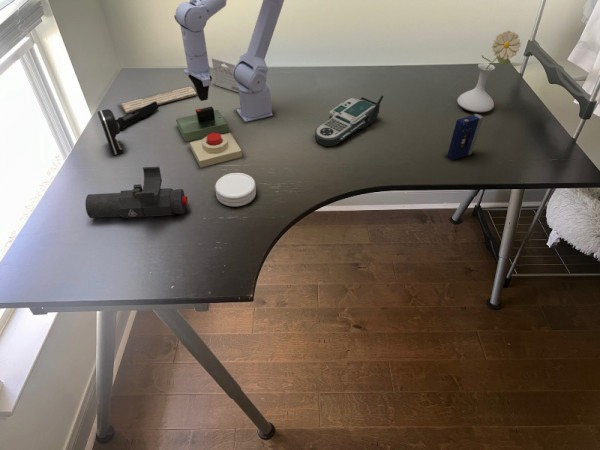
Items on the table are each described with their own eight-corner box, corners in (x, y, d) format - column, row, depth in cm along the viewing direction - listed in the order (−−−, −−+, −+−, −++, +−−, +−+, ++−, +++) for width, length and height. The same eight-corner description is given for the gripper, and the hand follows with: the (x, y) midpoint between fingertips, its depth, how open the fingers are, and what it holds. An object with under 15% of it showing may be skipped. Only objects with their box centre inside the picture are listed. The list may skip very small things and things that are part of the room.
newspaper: (127, 114, 141) (125, 109, 140) (120, 105, 146) (119, 100, 144) (196, 96, 150) (196, 91, 149) (189, 88, 155) (188, 83, 153)
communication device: (302, 137, 132) (302, 111, 126) (352, 107, 145) (354, 82, 139) (333, 153, 127) (335, 126, 120) (382, 120, 139) (386, 94, 133)
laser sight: (99, 202, 110) (86, 170, 104) (190, 197, 112) (183, 165, 105) (89, 229, 103) (74, 196, 97) (187, 224, 105) (179, 191, 98)
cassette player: (452, 160, 124) (463, 122, 116) (446, 156, 125) (456, 118, 117) (472, 153, 126) (484, 116, 118) (466, 149, 128) (477, 112, 120)
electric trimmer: (161, 111, 143) (159, 102, 141) (121, 131, 134) (118, 122, 132) (154, 108, 145) (152, 99, 143) (113, 127, 136) (110, 118, 134)
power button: (219, 136, 126) (218, 131, 125) (223, 144, 123) (223, 138, 122) (205, 140, 124) (204, 134, 123) (209, 147, 122) (209, 142, 121)
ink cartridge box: (219, 82, 158) (215, 55, 151) (244, 90, 153) (241, 63, 147) (214, 85, 156) (211, 58, 149) (239, 93, 152) (237, 65, 145)
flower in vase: (453, 111, 143) (475, 32, 126) (458, 96, 151) (479, 19, 134) (496, 120, 140) (524, 39, 123) (498, 103, 148) (525, 25, 130)
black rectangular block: (213, 116, 135) (211, 105, 132) (215, 119, 134) (213, 108, 131) (197, 120, 133) (195, 109, 131) (198, 122, 132) (196, 111, 130)
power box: (230, 139, 131) (229, 127, 129) (242, 157, 125) (241, 144, 122) (190, 148, 128) (188, 136, 125) (200, 167, 121) (198, 155, 118)
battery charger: (127, 152, 126) (115, 117, 118) (113, 156, 125) (100, 120, 117) (121, 140, 130) (110, 105, 123) (108, 144, 129) (96, 108, 121)
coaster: (240, 212, 108) (238, 201, 105) (208, 198, 112) (206, 187, 109) (263, 190, 114) (263, 179, 112) (233, 178, 118) (231, 167, 115)
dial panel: (218, 118, 140) (217, 109, 138) (228, 132, 134) (227, 123, 132) (178, 127, 136) (176, 118, 134) (185, 142, 130) (183, 133, 128)
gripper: (174, 45, 122) (183, 91, 131) (188, 65, 112) (197, 114, 122) (199, 40, 124) (206, 86, 133) (215, 60, 114) (221, 108, 124)
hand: (203, 99), depth 128 cm, fingers closed
